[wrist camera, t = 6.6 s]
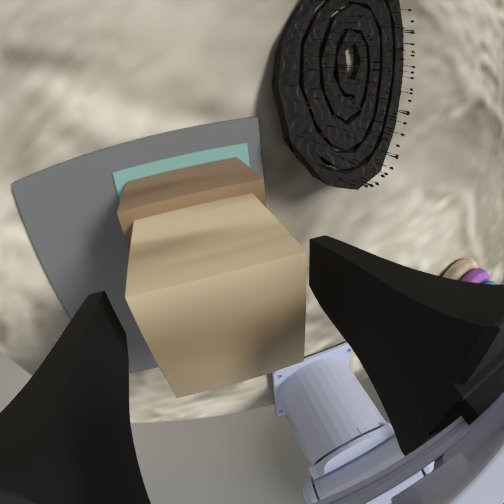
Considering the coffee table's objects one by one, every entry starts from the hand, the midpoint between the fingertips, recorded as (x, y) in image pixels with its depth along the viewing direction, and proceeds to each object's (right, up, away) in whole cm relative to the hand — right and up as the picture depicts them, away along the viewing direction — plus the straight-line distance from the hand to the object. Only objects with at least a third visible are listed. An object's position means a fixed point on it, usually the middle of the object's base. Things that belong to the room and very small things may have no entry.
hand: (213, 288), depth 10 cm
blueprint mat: (-4, 0, +7) cm, 8 cm away
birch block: (-1, +1, +2) cm, 2 cm away
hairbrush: (+8, +17, +2) cm, 19 cm away
